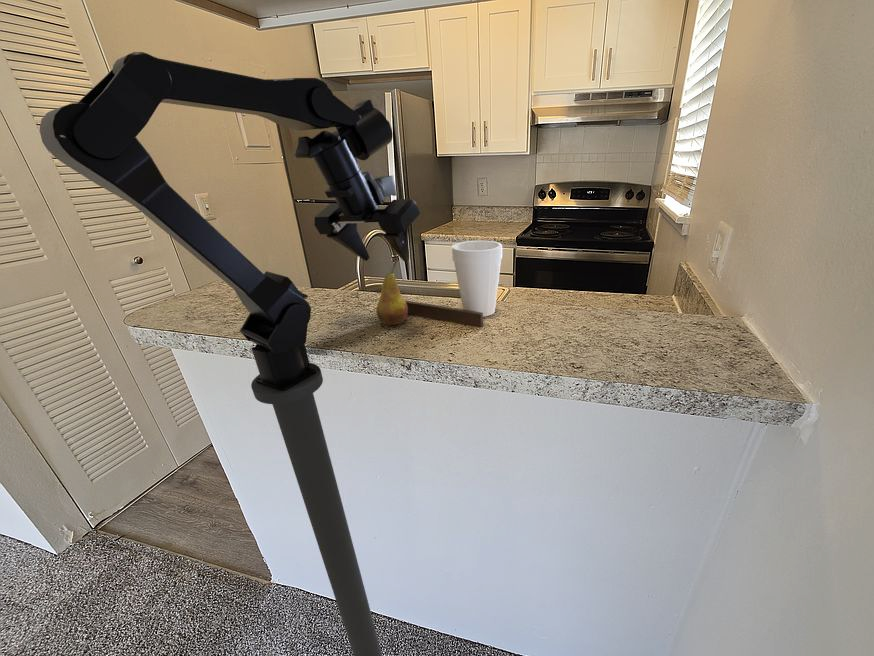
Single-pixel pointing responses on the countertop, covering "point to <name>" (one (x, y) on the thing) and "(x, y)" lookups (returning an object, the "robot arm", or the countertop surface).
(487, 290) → the foam cup
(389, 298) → the fruit
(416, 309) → the rail
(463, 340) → the countertop surface
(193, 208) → the robot arm
